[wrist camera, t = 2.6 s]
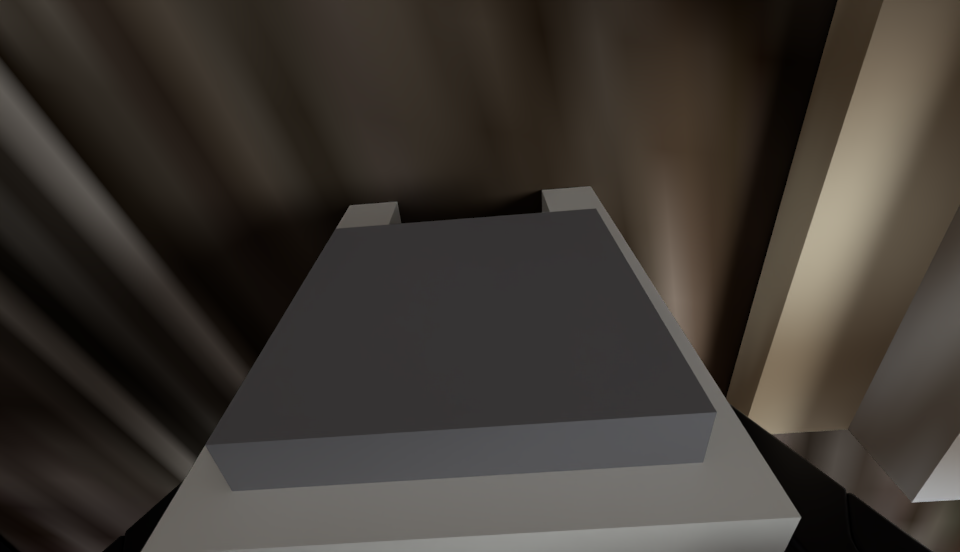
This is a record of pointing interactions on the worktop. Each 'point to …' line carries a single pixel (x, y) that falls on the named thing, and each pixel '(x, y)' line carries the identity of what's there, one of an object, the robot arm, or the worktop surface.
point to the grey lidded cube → (478, 405)
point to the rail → (869, 252)
